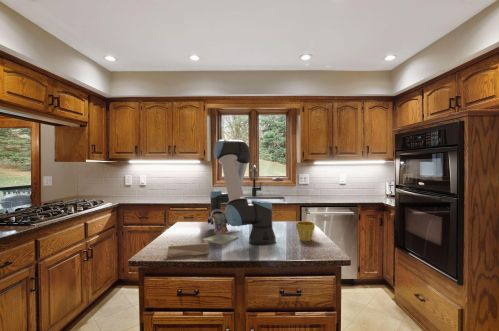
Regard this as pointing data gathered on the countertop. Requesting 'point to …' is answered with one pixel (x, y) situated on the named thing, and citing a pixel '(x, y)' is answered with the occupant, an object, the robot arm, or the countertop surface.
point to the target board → (221, 239)
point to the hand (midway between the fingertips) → (221, 223)
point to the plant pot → (305, 230)
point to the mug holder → (188, 249)
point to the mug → (220, 224)
